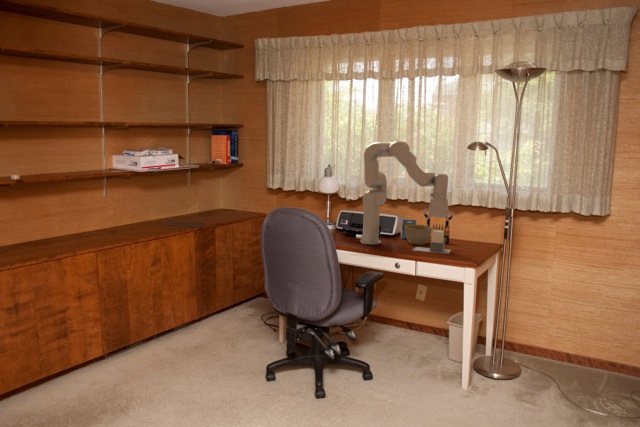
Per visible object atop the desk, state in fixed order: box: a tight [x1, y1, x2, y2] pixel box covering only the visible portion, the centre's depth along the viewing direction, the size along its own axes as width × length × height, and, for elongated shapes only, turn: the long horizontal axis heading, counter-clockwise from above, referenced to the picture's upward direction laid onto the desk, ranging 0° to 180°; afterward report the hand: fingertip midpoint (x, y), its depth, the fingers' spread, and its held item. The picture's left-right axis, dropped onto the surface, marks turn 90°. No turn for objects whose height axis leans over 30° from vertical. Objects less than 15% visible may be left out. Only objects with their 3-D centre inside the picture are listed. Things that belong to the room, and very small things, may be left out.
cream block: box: [430, 229, 444, 243], centre depth 314 cm, size 6×6×6 cm
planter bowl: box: [405, 224, 433, 245], centre depth 336 cm, size 16×16×11 cm
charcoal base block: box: [429, 241, 446, 253], centre depth 315 cm, size 7×7×5 cm
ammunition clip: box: [431, 223, 451, 245], centre depth 343 cm, size 11×2×12 cm, turn 75°
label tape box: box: [400, 219, 417, 240], centre depth 356 cm, size 9×4×12 cm, turn 93°
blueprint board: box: [411, 246, 452, 255], centre depth 316 cm, size 20×12×1 cm, turn 71°
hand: (437, 226), depth 314 cm, fingers open, 9 cm apart
